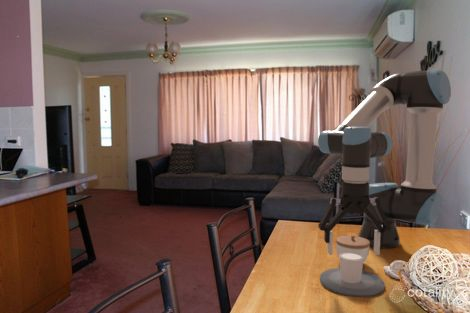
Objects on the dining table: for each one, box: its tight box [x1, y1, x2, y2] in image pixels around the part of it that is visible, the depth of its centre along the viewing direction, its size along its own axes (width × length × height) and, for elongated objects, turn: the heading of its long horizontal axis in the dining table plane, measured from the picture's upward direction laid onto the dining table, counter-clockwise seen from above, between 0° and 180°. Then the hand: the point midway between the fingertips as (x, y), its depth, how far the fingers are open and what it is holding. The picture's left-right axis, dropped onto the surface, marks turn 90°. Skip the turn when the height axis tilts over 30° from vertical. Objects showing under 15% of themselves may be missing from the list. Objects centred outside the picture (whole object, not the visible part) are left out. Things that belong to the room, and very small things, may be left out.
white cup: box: [338, 252, 364, 283], centre depth 115 cm, size 7×7×7 cm
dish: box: [319, 267, 385, 298], centre depth 115 cm, size 18×18×1 cm
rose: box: [383, 259, 407, 280], centre depth 122 cm, size 10×4×10 cm
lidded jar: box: [335, 234, 371, 263], centre depth 131 cm, size 11×11×9 cm
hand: (353, 253), depth 115 cm, fingers open, 13 cm apart
